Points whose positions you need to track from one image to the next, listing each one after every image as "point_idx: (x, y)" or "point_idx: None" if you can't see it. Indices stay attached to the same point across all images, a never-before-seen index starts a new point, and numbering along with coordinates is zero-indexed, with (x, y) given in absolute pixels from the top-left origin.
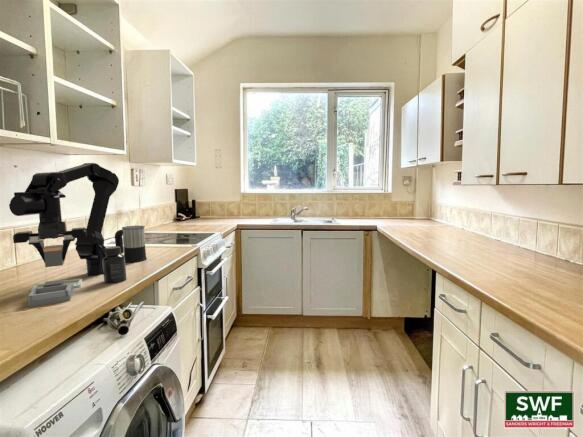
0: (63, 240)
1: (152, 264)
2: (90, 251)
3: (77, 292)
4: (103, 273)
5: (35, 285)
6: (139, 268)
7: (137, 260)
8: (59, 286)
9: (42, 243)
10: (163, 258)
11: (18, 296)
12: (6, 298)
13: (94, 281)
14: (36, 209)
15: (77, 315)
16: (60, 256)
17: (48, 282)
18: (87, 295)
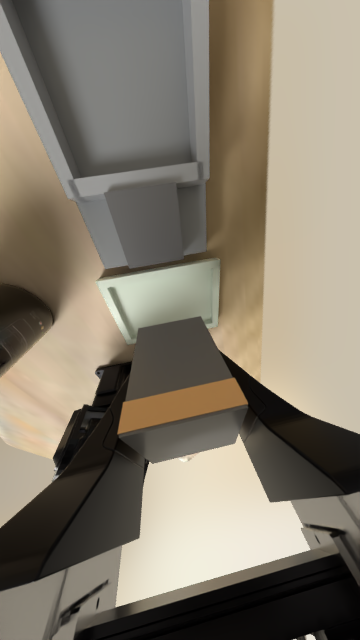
0: (26, 581)
1: (32, 413)
2: (90, 432)
3: (87, 236)
4: (19, 319)
5: (216, 317)
6: (44, 397)
7: (81, 427)
8: (109, 176)
9: (265, 465)
10: (38, 435)
11: (240, 267)
12: (262, 260)
13: (98, 335)
14: None
15: None
16: (139, 360)
17: (170, 241)
18: (7, 157)
